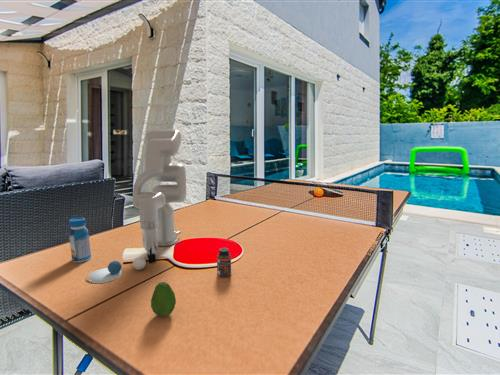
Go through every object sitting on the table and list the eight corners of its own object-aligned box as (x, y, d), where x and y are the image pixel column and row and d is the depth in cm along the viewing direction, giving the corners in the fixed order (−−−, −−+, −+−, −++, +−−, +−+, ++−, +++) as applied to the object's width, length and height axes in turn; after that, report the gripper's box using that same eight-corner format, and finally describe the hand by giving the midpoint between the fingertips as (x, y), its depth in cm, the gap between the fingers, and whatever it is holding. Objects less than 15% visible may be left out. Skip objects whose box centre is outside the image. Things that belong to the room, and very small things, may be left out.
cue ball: (135, 253, 143) (132, 264, 144) (132, 259, 138) (130, 270, 139) (148, 256, 144) (145, 267, 145) (145, 262, 139) (143, 273, 140)
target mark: (108, 265, 146) (108, 265, 146) (128, 272, 139) (128, 272, 139) (78, 278, 134) (78, 277, 134) (99, 286, 127) (99, 286, 127)
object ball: (120, 260, 142) (106, 263, 140) (120, 258, 138) (106, 262, 135) (122, 272, 141) (109, 276, 139) (123, 270, 136) (109, 275, 134)
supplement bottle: (218, 278, 133) (217, 253, 131) (216, 272, 138) (215, 247, 136) (232, 276, 134) (232, 251, 132) (229, 270, 140) (229, 246, 138)
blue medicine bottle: (86, 263, 149) (81, 221, 145) (68, 263, 149) (62, 221, 145) (94, 255, 157) (90, 216, 153) (77, 255, 158) (73, 216, 154)
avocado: (167, 324, 103) (164, 289, 101) (147, 318, 106) (144, 285, 103) (181, 310, 110) (179, 278, 108) (162, 306, 113) (159, 274, 111)
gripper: (137, 220, 147) (140, 258, 150) (143, 229, 134) (146, 270, 137) (154, 218, 150) (156, 255, 154) (161, 226, 137) (164, 267, 141)
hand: (152, 262), depth 146 cm, fingers closed
